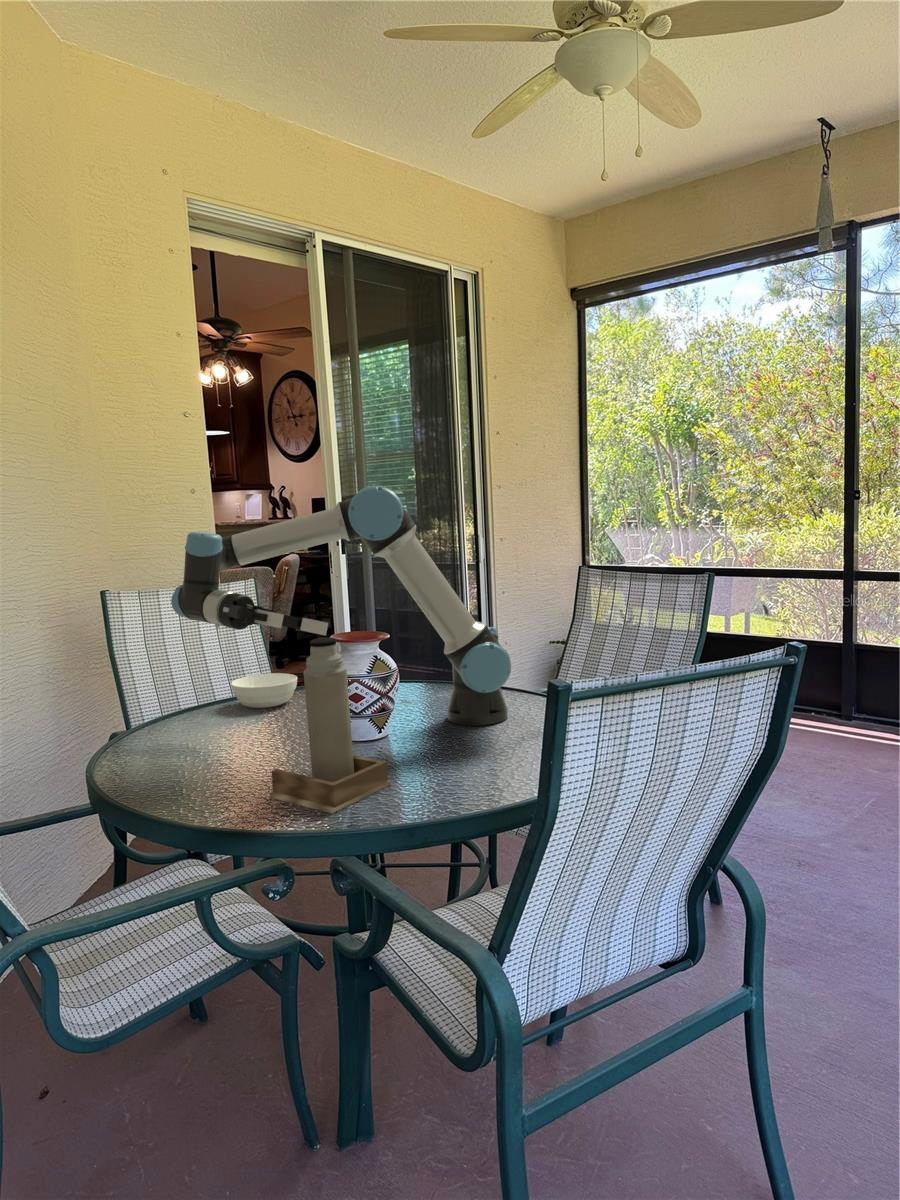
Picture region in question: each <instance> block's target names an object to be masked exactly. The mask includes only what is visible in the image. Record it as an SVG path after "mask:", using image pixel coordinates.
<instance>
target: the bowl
mask: <svg viewBox="0 0 900 1200" xmlns="http://www.w3.org/2000/svg"><path fill="white" fill-rule="evenodd" d="M297 684H298V676H297V675H295V674H292V673H280V672H279V673H277V672H275V673H273V672H272V673H261V674H254V675H253V674H252V675H248V676H244V677H240V678H237V679H234V680H233V681H231V683H230V686H231V689H232V692H233V694H234V695H235V696H236V697H235V698H236V699H237V701H239V703H240V704H242V706H244V707H249V708H253V709H267V708H273V707H277V706H281V705H283V704H285V703H286V702H289V701H290V699H291V698H292V697H293V695H294V692H295V690H296V688H297Z"/></svg>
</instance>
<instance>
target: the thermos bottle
mask: <svg viewBox="0 0 900 1200" xmlns="http://www.w3.org/2000/svg"><path fill="white" fill-rule="evenodd" d="M336 644H337V638H335V637H321V638H314V639H312V640H309V646H310V649H309V650H310V651H309V652H310V655H309V656H307V658H306V659H305V661H306V662H305V666H306V668H305V669H304V670H303V682H304V691H305V693H304V694H305V705H306V717H307V719H306V720H307V728H308V729H307V730H308V741H309V755H310V763H311V764H310V766H311V776H312V778H317V779H321V780H325V781H330V782H335V781H338V780H340V779H342V778H344V777H347V776H349V775H351V774H353V773H354V762H353V755H354V752H353V751H354V750H353V737H352V726H351V725H352V724H351V711H350V700H349V697H350V696H349V686H348V684H349V683H348V672H347V666H346V665H343V660H344V658H343V656H342V654H341V653H338V652H337V646H336Z"/></svg>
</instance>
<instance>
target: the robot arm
mask: <svg viewBox="0 0 900 1200" xmlns="http://www.w3.org/2000/svg"><path fill="white" fill-rule="evenodd" d="M416 531H417V525H416V523H415V522H414V520H413V519H412V518H411V516H410V514H409V513H408V512H407V510H406V509H405V508H404V506H403V504H402V501H401V499H400V498H399V496H398V495H397V494H396V493H395V492H394V491H393V490H391V489H390V488H389V487H386V486H383V485H377V484H375V485H369V486H365V487H363V488H362V489H360V490H359V491H358V492H357V493H355V494H354V495H353V496H352V497H351V498H348V499H346V500H342V501H338V502H337V503H336V505H335V506H334V507H333V508H329V509H326V510H322V511H318V512H317V511H316V512H314V513H310V514H306V515H303V516H299V517H295V518H291V519H288V520H284V521H280V522H276V523H273V524H269V525H264V526H261V527H258V528H253V529H250V530H246V531H242V532H240V533H236V534H232V535H228V536H224V537H222V536H221V535H220V534H217V533H211V532H210V533H209V532H201V531H200V532H198V531H190V532H189V533H188V534H187V536H186V542H185V546H184V550H185V554H184V557H185V558H184V570H183V571H184V572H183V581H182V584H181V585H179V586H177V587H176V588H175V589H174V592H173V593H172V595H171V601H170V603H171V606H172V609H173V611H174V612H175V613H176V614H177V615H178V616H180V617H183V618H186V619H188V620H190V621H197V622H198V621H199V622H203V623H209V624H213V625H214V627H215V628H216V629H218V628H220V626H221V627H226V628H228V629H234V630H238V631H239V630H244V629H246V628H248V627H249V626H253V625H255V626H260V625H262V626H268V627H273V628H277V629H282V627H286V628H291V629H296V630H300V631H302V632H306V633H311V634H317V635H322V636H327V631H328V627H329V622H326V621H321V620H315V619H312V618H308V615H304V617H298V616H292V615H287V614H282V613H277V612H276V611H275V610H273V609H268V608H265V607H263V606H258V605H255V603H254V601H253V599H252V598H251V597H250V596H248V595H247V594H242V593H236V592H232V591H228V590H222V589H219V587H220V575H221V572H224V571H227V570H230V569H235V568H237V567H240V566H245V565H248V564H252V563H257V562H259V561H263V560H267V559H271V558H275V557H278V556H281V555H286V554H290V553H293V552H298V551H300V550H304V549H309V548H312V547H315V546H320V545H323V544H327V543H331V542H334V541H335V542H336V541H339V540H343V539H344V540H346V541H347V542H351V541H354V540H359V539H360V540H362V541H363V542H364V543H365V545H366V546H367V547H368V549H369V550H370V552H371V553H372V554H373V556H374V557H378V558H383V559H385V561H386V562H387V564H388V565H389V567H390V568H391V569H392V571H393V572H394V573H395V575H396V576H397V577H398V579H399V581H400V582H401V584H402V585H403V586H404V588H405V589H406V591H408V593H409V594H410V596H411V597H412V600H414V601H415V603H416V605H417V606H418V607H419V609H420V610H421V611H422V613H423V614H424V615H425V617H426V619H428V621H429V623H430V624H431V625H432V627H433V628H434V630H435V631H436V632H437V633H438V635H439V636H440V638H441V639H442V641H443V642H444V649H443V654H444V655H445V656H446V658H447V659H448V661H450V663H451V665H452V683H453V685H452V692H451V696H450V699H449V704H448V707H447V720H448V721H449V722H450V723H453V724H455V725H460V726H461V725H462V726H470V727H471V726H475V727H476V726H488V725H494V724H498V723H501V722H504V721H506V720H507V719H508V717H509V715H508V713H509V712H508V707H507V703H506V701H505V698H504V696H503V692H502V690H501V688H502V687H503V686H504V685H505V684H506V683H507V682H508V680H509V678H510V675H511V672H512V661H511V658H510V657H511V656H510V655H509V653H508V651H507V650H506V649H505V648H504V647H503V646H502V645H501V644H500V642H499V633H498V629H497V628H496V627H494V626H487V624H486V623H485V622H483V621H482V622H481V621H476V620H475V619H474V617H473V615H472V614H471V613H470V611H469V610H468V608H467V607H466V606H465V603H463V601H462V599H460V598H459V596H458V594H457V592H456V591H455V590H454V588H453V587H452V586H451V584H450V583H449V582H448V580H447V578H446V577H445V576H444V575H443V573H442V572H441V570H440V569H439V568H438V566H437V564H436V563H435V561H434V560H433V559H432V558H431V556H430V555H429V554H428V552H427V550H426V549H425V547H424V546H423V545H422V543H421V541H419V539H418V538H417V536H416V534H417V533H416Z"/></svg>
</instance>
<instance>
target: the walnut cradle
mask: <svg viewBox="0 0 900 1200" xmlns="http://www.w3.org/2000/svg"><path fill="white" fill-rule="evenodd" d="M353 762H354V773H353V774H351V775H349V776H347V777H344V778H342V779H340V780H338V781H335V782H330V781H325V780H321V779H317V778H312V775H310V776H307V775H304V774H303V775H302V774H299V773H294V772H290V771H285V770H282V769H277V768H276V769H273V770H271V782H272V783H271V784H272V786H271V787H272V791H271V792H269V797H270V798H271V799H274V800H275V799H276V800H279V801H283V802H286V803H291V804H293V805H297V806H303V807H304V808H305V807H306V808H309V809H313V810H316V811H320V812H325V813H328V814H331V815H332V814H334V813H336V811H337V812H338V811H341V810H342V809H345V808H347V807H348V806H350V805H352V804H355V803H357V802H358V801H361V800H363V799H365V798H367V797H370V795H373V794H376V793H377V792H379V791H381V790H383V789H385V788H387V787H389V786H391V780H388V779H389V778H388V763H387V761H384V760H379V759H375V758H368V757H365V756H359V755H355V754H353Z"/></svg>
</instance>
